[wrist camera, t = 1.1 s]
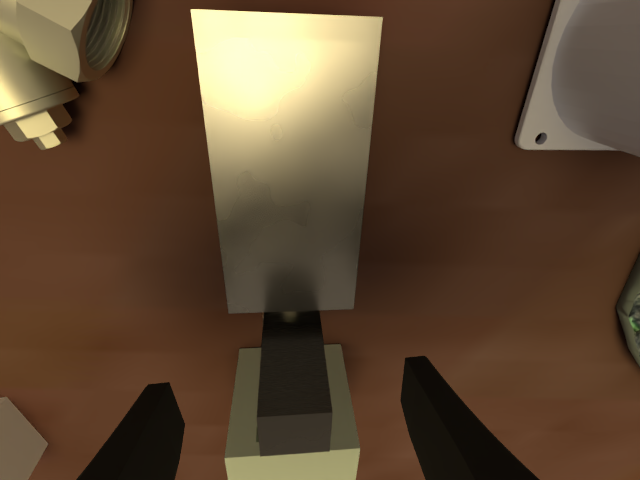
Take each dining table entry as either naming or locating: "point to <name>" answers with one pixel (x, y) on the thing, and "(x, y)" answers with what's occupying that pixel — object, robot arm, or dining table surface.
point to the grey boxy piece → (288, 151)
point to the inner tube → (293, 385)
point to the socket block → (294, 469)
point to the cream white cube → (18, 443)
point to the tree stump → (631, 311)
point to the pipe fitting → (53, 60)
